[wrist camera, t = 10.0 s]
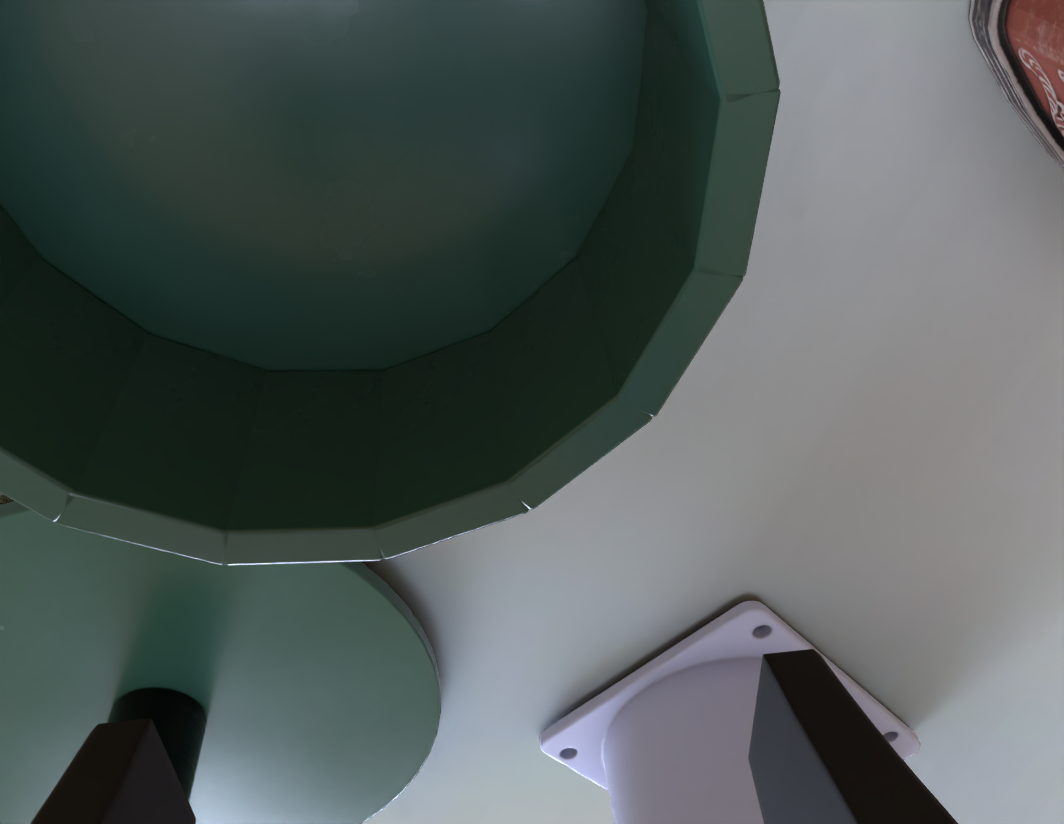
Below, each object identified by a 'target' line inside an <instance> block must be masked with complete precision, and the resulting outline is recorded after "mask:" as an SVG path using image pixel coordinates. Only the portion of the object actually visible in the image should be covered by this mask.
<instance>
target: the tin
mask: <svg viewBox="0 0 1064 824" xmlns="http://www.w3.org/2000/svg"><path fill="white" fill-rule="evenodd" d="M779 83H780V81H779V76H778V71H777V66H776V61H775V56H774V51H773V46H772V41H771V36H770V31H769V27H768V22H767V17H766V12H765V7H764V2H763V0H0V493H2V494H3V495H5V496H7V497H9V498H10V499H12V500H14V501H16V502H17V503H19V504H21V505H23V506H25V507H26V508H28V509H30V510H32V511H33V512H35V513H37V514H39V515H41V516H42V517H44V518H46V519H48V520H49V521H52V522H55V521H57V524H58V525H60V526H64V527H68V528H72V529H76V530H80V531H84V532H88V533H92V534H96V535H100V536H104V537H108V538H112V539H116V540H120V541H124V542H129V543H133V544H137V545H141V546H145V547H149V548H153V549H157V550H161V551H165V552H169V553H173V554H177V555H181V556H185V557H189V558H193V559H197V560H201V561H205V562H209V563H213V564H217V565H222V564H223V563H225V565H229V566H230V565H263V564H295V563H328V562H361V561H380V560H382V559H383V558H385V559H391V558H394V557H397V556H400V555H403V554H406V553H409V552H412V551H415V550H418V549H421V548H424V547H427V546H430V545H432V544H435V543H438V542H441V541H444V540H447V539H450V538H453V537H456V536H459V535H462V534H465V533H468V532H471V531H474V530H477V529H480V528H483V527H486V526H489V525H492V524H495V523H498V522H501V521H504V520H507V519H510V518H513V517H516V516H519V515H522V514H525V513H526V512H528V510H529V509H531V510H532V509H534V508H536V507H537V506H538V505H540V504H541V503H542V502H544V501H545V500H546V499H548V498H549V497H550V496H552V495H553V494H554V493H556V492H557V491H558V490H560V489H561V488H562V487H564V486H565V485H566V484H567V483H569V482H570V481H571V480H573V479H574V478H575V477H577V476H578V475H579V474H581V473H582V472H583V471H585V470H586V469H587V468H589V467H590V466H591V465H593V464H594V463H595V462H597V461H598V460H599V459H601V458H602V457H603V456H605V455H606V454H607V453H608V452H610V451H611V450H612V449H614V448H615V447H616V446H618V445H619V444H620V443H622V442H623V441H624V440H626V439H627V438H628V437H630V436H631V435H632V434H634V433H635V432H636V431H638V430H639V429H640V428H642V427H643V426H644V425H646V424H647V423H648V422H650V420H651V419H652V416H656V415H657V414H658V412H659V411H660V409H661V408H662V406H663V405H664V403H665V401H666V400H667V398H668V397H669V395H670V394H671V392H672V390H673V389H674V387H675V386H676V384H677V383H678V381H679V380H680V378H681V376H682V375H683V373H684V372H685V370H686V369H687V367H688V365H689V364H690V362H691V361H692V359H693V358H694V356H695V354H696V353H697V351H698V350H699V348H700V347H701V345H702V344H703V342H704V340H705V339H706V337H707V336H708V334H709V333H710V331H711V329H712V328H713V326H714V325H715V323H716V322H717V320H718V318H719V317H720V315H721V314H722V312H723V311H724V309H725V307H726V306H727V304H728V303H729V301H730V300H731V298H732V297H733V295H734V293H735V292H736V290H737V289H738V287H739V286H740V284H741V282H742V280H743V276H745V274H746V270H747V265H748V260H749V255H750V249H751V244H752V239H753V234H754V229H755V223H756V218H757V213H758V208H759V202H760V197H761V192H762V187H763V182H764V176H765V171H766V166H767V161H768V156H769V150H770V145H771V140H772V135H773V130H774V124H775V119H776V114H777V109H778V103H779V98H780V89H779Z"/></svg>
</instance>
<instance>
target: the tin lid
mask: <svg viewBox="0 0 1064 824" xmlns="http://www.w3.org/2000/svg"><path fill="white" fill-rule="evenodd" d="M440 713H441V692H440V675H439V671H438V667H437V663H436V659H435V654H434V651H433V649H432V647H431V645H430V643H429V640H428V638H427V636H426V634H425V632H424V629H423V628H422V626H421V625H420V623H419V622H418V620H417V619H416V617H415V616H414V614H413V613H412V611H411V610H410V609H409V607H408V606H407V604H406V603H405V602H404V601H403V600H402V599H401V598H400V597H399V596H398V595H397V593H396V592H395V591H394V590H393V589H392V588H391V587H390V586H389V585H388V584H387V583H386V582H385V581H384V580H383V579H382V578H380V577H379V576H378V575H377V574H375V573H374V572H373V571H372V570H371V569H369V568H368V567H367V566H366V565H364V564H363V563H362V562H328V563H295V564H263V565H230V566H229V565H225V563H223V564H222V565H217V564H213V563H209V562H205V561H201V560H197V559H193V558H189V557H185V556H181V555H177V554H173V553H169V552H165V551H161V550H157V549H153V548H149V547H145V546H141V545H137V544H133V543H129V542H124V541H120V540H116V539H112V538H108V537H104V536H100V535H96V534H92V533H88V532H84V531H80V530H76V529H72V528H68V527H64V526H60V525H58V524H57V521H55V522H52V521H49V520H48V519H46V518H44V517H42V516H41V515H39V514H37V513H35V512H33V511H32V510H30V509H28V508H26V507H25V506H23V505H21V504H19V503H17V502H16V501H13V502H9V503H5V504H1V505H0V824H30V823H31V822H32V820H33V819H34V817H35V816H36V814H37V813H38V811H39V810H40V808H41V807H42V805H43V804H44V802H45V801H46V799H47V798H48V796H49V795H50V793H51V792H52V790H53V789H54V787H55V786H56V784H57V783H58V781H59V780H60V778H61V777H62V775H63V774H64V772H65V771H66V769H67V767H68V766H69V764H70V763H71V761H72V760H73V758H74V757H75V755H76V754H77V752H78V751H79V749H80V748H81V746H82V745H83V743H84V741H85V740H86V738H87V737H88V735H89V734H90V732H91V731H92V730H93V729H94V728H95V727H96V726H97V725H98V724H102V723H111V722H121V721H130V720H140V719H149V718H151V719H152V721H153V723H154V725H155V728H156V730H157V732H158V734H159V737H160V739H161V741H162V743H163V746H164V748H165V750H166V752H167V754H168V757H169V759H170V761H171V763H172V766H173V768H174V770H175V772H176V775H177V777H178V779H179V781H180V784H181V786H182V788H183V790H184V793H185V795H186V797H187V799H188V802H189V804H190V806H191V808H192V811H193V813H194V815H195V817H196V824H362V823H363V822H365V821H366V820H368V819H369V818H371V817H372V816H374V815H375V814H377V813H378V812H380V811H381V810H383V809H384V808H385V807H386V806H387V805H388V804H389V803H391V802H392V801H393V800H394V799H395V798H396V797H397V796H399V795H400V794H401V793H402V792H403V791H404V789H405V788H406V787H407V786H408V785H409V784H410V782H411V781H412V780H413V779H414V778H415V776H416V775H417V774H418V772H419V771H420V769H421V767H422V766H423V764H424V762H425V761H426V759H427V757H428V756H429V754H430V751H431V748H432V746H433V743H434V740H435V738H436V735H437V732H438V726H439V719H440Z"/></svg>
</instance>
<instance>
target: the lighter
mask: <svg viewBox="0 0 1064 824" xmlns="http://www.w3.org/2000/svg"><path fill="white" fill-rule="evenodd" d="M969 20H970V24H971V28H972V32H973V36H974V39H975V41H976V43H977V44H978V46H979V48H980V50H981V52H982V54H983V56H984V58H985V59H986V61H987V63H988V65H989V67H990V69H991V71H992V73H993V75H994V76H995V78H996V80H997V82H998V84H999V86H1000V88H1001V90H1002V91H1003V93H1004V95H1005V97H1006V99H1007V100H1008V102H1009V103H1010V104H1011V106H1012V107H1013V108H1014V110H1015V111H1016V112H1017V114H1018V115H1019V116H1020V118H1021V119H1022V120H1023V122H1024V123H1025V124H1026V125H1027V127H1028V128H1029V129H1030V131H1031V132H1032V133H1033V135H1034V136H1035V137H1036V139H1037V140H1038V141H1039V143H1040V144H1041V145H1042V147H1043V148H1044V149H1045V151H1046V152H1047V153H1048V154H1049V155H1050V156H1051V157H1053V158H1054V159H1055V160H1056V161H1057V162H1058V163H1059V164H1061V165H1062V166H1063V167H1064V0H972V1H971V8H970V15H969Z"/></svg>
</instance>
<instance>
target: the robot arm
mask: <svg viewBox="0 0 1064 824" xmlns="http://www.w3.org/2000/svg"><path fill="white" fill-rule="evenodd" d="M761 625H763V626H761ZM758 626H760V627H758ZM539 739H540V747H541V750H542V751H543V752H544V753H545V754H547V755H549V756H550V757H552V758H554V759H555V760H557V761H559V762H560V763H562V764H564V765H565V766H567V767H569V768H570V769H572V770H574V771H575V772H577V773H579V774H580V775H582V776H584V777H585V778H587V779H589V780H590V781H592V782H594V783H595V784H597V785H599V786H600V787H602V788H604V789H605V790H607V791H609V795H610V801H611V806H612V812H613V818H614V824H958V823H957V822H956V821H955V819H954V818H953V817H952V816H951V815H950V814H949V813H948V811H947V810H946V809H945V808H944V807H943V806H942V805H941V803H940V802H939V801H938V800H937V799H936V798H935V797H934V795H933V794H932V793H931V792H930V791H929V790H928V789H927V787H926V786H925V785H924V784H923V783H922V782H921V781H920V779H919V778H918V777H917V776H916V775H915V774H914V773H913V771H912V770H911V769H910V768H909V767H908V765H907V764H906V763H905V762H904V760H905V759H907V758H909V757H911V756H913V755H914V754H916V753H917V752H918V750H919V749H920V745H921V744H920V742H919V740H918V738H917V736H916V734H915V733H914V732H913V731H912V730H911V729H910V728H909V727H907V726H906V725H905V724H904V723H903V722H902V721H900V720H899V719H898V718H897V717H896V716H894V715H893V714H892V713H891V712H890V711H889V710H887V709H886V708H885V707H884V706H883V705H882V704H880V703H879V702H878V701H877V700H876V699H874V698H873V697H872V696H871V695H870V694H869V693H867V692H866V691H865V690H864V689H863V688H861V687H860V686H859V685H858V684H857V683H856V682H854V681H853V680H852V679H851V678H850V677H849V676H847V675H846V674H845V673H844V672H843V671H841V670H840V669H839V668H838V667H837V666H836V665H834V664H833V663H832V662H831V661H830V660H829V659H827V658H826V657H825V656H824V655H823V654H821V653H820V652H819V651H818V650H817V649H816V648H814V647H813V646H812V645H811V644H810V643H808V642H807V641H806V640H805V639H804V638H803V637H801V636H800V635H799V634H798V633H797V632H796V631H794V630H793V629H792V628H791V627H790V626H788V625H787V624H786V623H785V622H784V621H783V620H781V619H780V618H779V617H778V616H777V615H776V614H774V613H773V612H772V611H771V610H770V609H768V608H767V607H766V606H765V605H764V604H762V603H760V602H758V601H745V602H742V603H740V604H738V605H736V606H735V607H733V608H732V609H730V610H729V611H727V612H726V613H724V614H722V615H721V616H719V617H718V618H716V619H715V620H713V621H712V622H710V623H709V624H707V625H705V626H704V627H702V628H701V629H699V630H698V631H696V632H695V633H693V634H692V635H690V636H688V637H687V638H685V639H684V640H682V641H681V642H679V643H678V644H676V645H675V646H673V647H671V648H670V649H668V650H667V651H665V652H664V653H662V654H661V655H659V656H658V657H656V658H655V659H653V660H651V661H650V662H648V663H647V664H645V665H644V666H642V667H641V668H639V669H638V670H636V671H634V672H633V673H631V674H630V675H628V676H627V677H625V678H624V679H622V680H621V681H619V682H617V683H616V684H614V685H613V686H611V687H610V688H608V689H607V690H605V691H604V692H602V693H600V694H599V695H597V696H596V697H594V698H593V699H591V700H590V701H588V702H587V703H585V704H583V705H582V706H580V707H579V708H577V709H576V710H574V711H573V712H571V713H570V714H568V715H566V716H565V717H563V718H562V719H560V720H559V721H557V722H556V723H554V724H553V725H551V726H549V727H548V728H546V729H545V730H544V731H543V732H542V733H541V734H540V737H539ZM30 824H196V817H195V815H194V813H193V811H192V808H191V806H190V804H189V802H188V799H187V797H186V795H185V793H184V790H183V788H182V786H181V784H180V781H179V779H178V777H177V775H176V772H175V770H174V768H173V766H172V763H171V761H170V759H169V757H168V754H167V752H166V750H165V748H164V746H163V743H162V741H161V739H160V737H159V734H158V732H157V730H156V728H155V725H154V723H153V721H152V719H151V718H149V719H140V720H130V721H121V722H111V723H102V724H98V725H97V726H96V727H95V728H94V729H93V730H92V731H91V732H90V734H89V735H88V737H87V738H86V740H85V741H84V743H83V745H82V746H81V748H80V749H79V751H78V752H77V754H76V755H75V757H74V758H73V760H72V761H71V763H70V764H69V766H68V767H67V769H66V771H65V772H64V774H63V775H62V777H61V778H60V780H59V781H58V783H57V784H56V786H55V787H54V789H53V790H52V792H51V793H50V795H49V796H48V798H47V799H46V801H45V802H44V804H43V805H42V807H41V808H40V810H39V811H38V813H37V814H36V816H35V817H34V819H33V820H32V822H31V823H30Z"/></svg>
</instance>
